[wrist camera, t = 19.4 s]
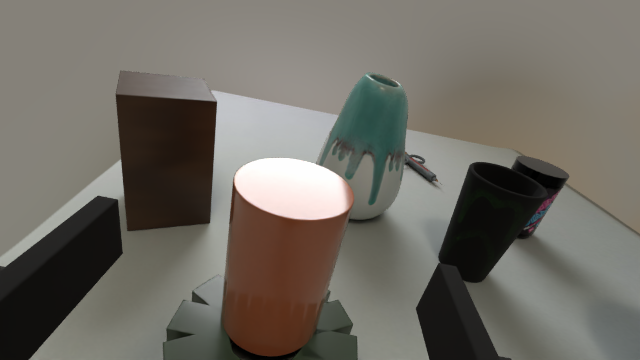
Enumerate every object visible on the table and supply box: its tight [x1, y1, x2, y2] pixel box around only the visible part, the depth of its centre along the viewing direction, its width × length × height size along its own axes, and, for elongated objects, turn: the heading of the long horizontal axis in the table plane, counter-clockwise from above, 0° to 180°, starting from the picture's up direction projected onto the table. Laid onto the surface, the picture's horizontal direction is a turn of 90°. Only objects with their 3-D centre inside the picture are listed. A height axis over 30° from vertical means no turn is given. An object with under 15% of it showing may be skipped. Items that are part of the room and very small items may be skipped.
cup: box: [439, 162, 548, 283], centre depth 36 cm, size 8×8×12 cm
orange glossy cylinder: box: [221, 158, 354, 356], centre depth 22 cm, size 7×7×11 cm
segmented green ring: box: [163, 274, 358, 360], centre depth 23 cm, size 13×13×3 cm
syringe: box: [404, 152, 444, 186], centre depth 64 cm, size 8×18×2 cm, turn 23°
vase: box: [316, 73, 408, 220], centre depth 42 cm, size 12×12×18 cm
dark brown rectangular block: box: [116, 71, 217, 231], centre depth 35 cm, size 8×8×14 cm
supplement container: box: [511, 156, 569, 238], centre depth 48 cm, size 7×7×10 cm
